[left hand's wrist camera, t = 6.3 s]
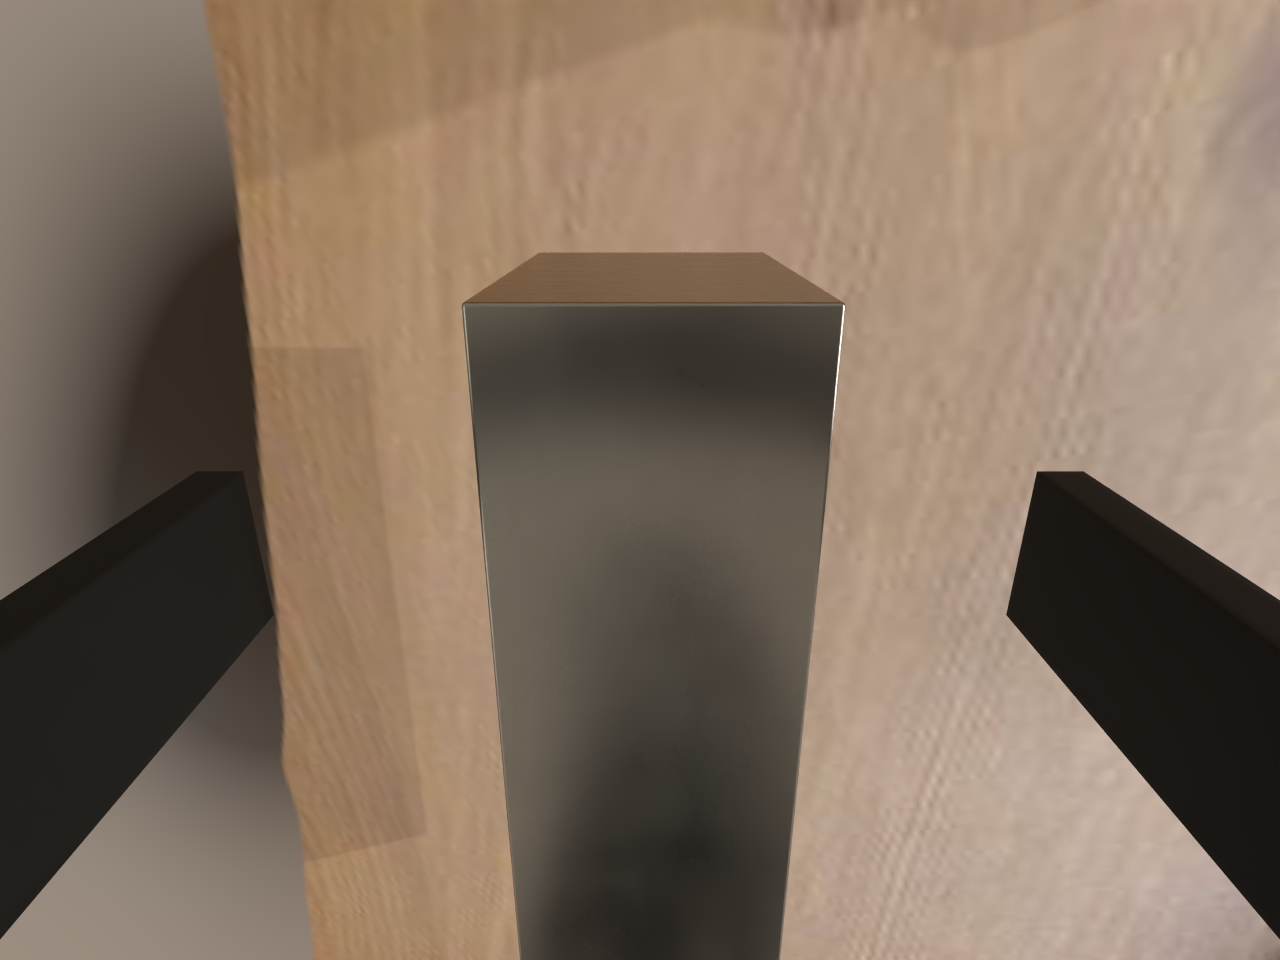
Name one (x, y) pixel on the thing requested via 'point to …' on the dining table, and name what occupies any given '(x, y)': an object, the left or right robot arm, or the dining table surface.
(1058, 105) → the dining table surface
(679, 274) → the bar
